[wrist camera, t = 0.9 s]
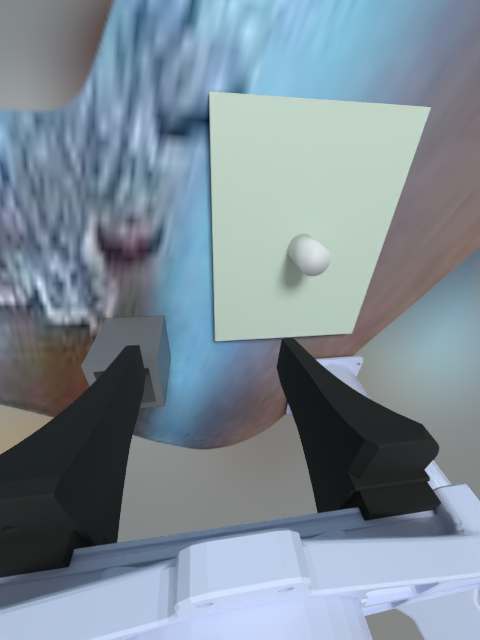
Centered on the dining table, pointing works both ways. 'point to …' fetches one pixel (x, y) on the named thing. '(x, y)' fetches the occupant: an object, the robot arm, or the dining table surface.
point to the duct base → (301, 208)
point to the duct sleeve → (152, 347)
